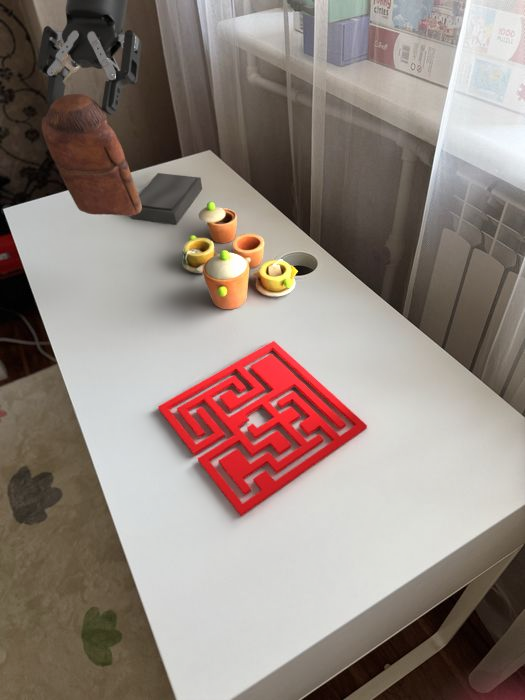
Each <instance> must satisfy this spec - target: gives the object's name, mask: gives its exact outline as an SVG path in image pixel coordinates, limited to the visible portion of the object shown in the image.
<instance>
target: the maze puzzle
mask: <svg viewBox="0 0 525 700" xmlns="http://www.w3.org/2000/svg"><path fill="white" fill-rule="evenodd" d="M271 352H274V353H275V354H276V355H277V356H278V357H280V358H281V359H282V360H283V361H284V362H285V363H286V364H287V365H288V366H289V367H290V368H291V369H292V370H293V371H294V372H296V373H297V374H298V375H299V376H300V377H301V378H302V379H303V380H304V381H305V382H306V383H308V384H309V386H311V387H312V388H313V389H314V390H315V391H316V392H317V393H318V394H319V395H320V396H321V397H323V398H324V399H325V400H326V401H327V402H328V403H329V404H330V405H331V406H332V407H333V408H335V410H337V411H338V413H340V414H341V415H342V416H343V417H344V418H345V419H346V420H347V421H349V423H351V424H352V425H353V426H352V427H350V428H349V429H348V430H346V431H345V432H343V433H342V434H341V435H340V434H339V433H338V432H337V431H335V429H334V428H333V427H331V425H330V424H329V423H327V421H325V420H324V419H323V418H322V417H321V416H320V415H319V414H318V412H316V411H315V410H314V409H313V408H312V407H311V406H310V405H309V404H308V403H307V402H305V400H303V399H302V398H301V397H300V395H298V393H297V392H295V390H293V391H291V392H290V393H287V392H288V391H290V390H291V389H293V388H296V390H298V391H299V393H300V394H302V395H303V396H304V397H305V398H306V400H307V401H309V402H310V403H311V404H312V405H313V406H314V407H315V408H316V409H317V410H318V411H319V412H320V413H322V414H323V415H324V416H325V417H326V418H327V419H328V420H329V421H330V422H331V423H332V424H333V425H334V426H335V427H336V428H337V429H338V430H339V431H342V430H344V428H346V426H347V423H346V422H345V421H344V420H343V419H342V418H341V417H340V416H339V415H338V414H337V413H335V411H334V410H333V409H332V408H330V407H329V406H328V405H327V404H326V402H324V401H322V399H321V398H320V397H318V396H317V394H315V392H313V391H312V390H311V389H310V388H309V387H308V386H307V385H306V384H305V383H304V382H303V381H302V380H300V378H298V377H297V376H296V375H295V374H294V372H292V371H291V370H290V369H289V368H288V367H286V366H285V364H283V363H282V362H281V361H280V360H279V359H278V358H277V357H276V356H275V355H274V354H272V353H271ZM269 353H270V354H269ZM267 354H268V355H267ZM265 355H266V356H265ZM263 356H265V357H263ZM261 357H263V358H261ZM260 358H261V359H260ZM255 361H256V362H255ZM253 362H254V363H253ZM248 365H250V370H251V371H252V372H253V373H255V375H256V376H258V378H259V379H260V380H261V381H262V382H263V383H264V384H265V385H266V386H267V387H268V388H269V389H270V390H271V391H269V392H268V393H266V394H264V395H262V394H263V393H265V392H266V388H265V387H264V386H263V385H262V384H261V383H260V382H259V381H258V380H257V379H256V378H255V377H254V376H253V374H251V373H250V372H249V371H248V370H247V369H246V368H245V367H246V366H248ZM235 372H236V373H237V374H238V375H239V376H240V377H241V378H243V380H244V381H245V382H246V383H247V384H248V385H249V386H250V387H251V390H249V391H247V388H246V385H244V384H243V383H242V381H241V380H240V379H239V378H238V377H237V376H236V375H234V373H235ZM232 374H233V375H232ZM231 375H232V376H231ZM229 376H230V377H229ZM227 377H228V378H227ZM225 378H227V379H225ZM224 379H225V380H224ZM222 380H223V381H222ZM220 381H222V382H220ZM218 382H220V383H218ZM216 383H218V384H216ZM215 384H216V385H215ZM214 385H215V386H214ZM211 386H212V387H211ZM232 386H233V387H234V388H235V390H237V391H238V393H240V394H242V393H243V392H245V391H247V392H246V393H244V394H242V395H241V396H239V397H238V395H237V394H236V393H235V392H234V391H233V390H232V389H229V388H231V387H232ZM209 387H211V388H209ZM207 388H209V389H207ZM206 389H207V390H206ZM227 389H229V390H227ZM205 390H206V391H205ZM226 390H227V391H226ZM202 391H204V392H202ZM224 391H225V392H224ZM201 392H202V393H201ZM222 392H224V393H222ZM199 393H201V394H199ZM220 393H222V394H221V395H219V400H220V402H222V404H223V405H224V406H225V407H226V408H227V409H228V410H229V411H230V412H231V413H232V412H234V411H236V410H237V409H239V408H240V407H242V406H244V405H246V404H247V403H249V402H250V401H252V400H253V399H255V398H257V397H259V398H258V399H256V400H254V401H253V402H251V403H249V404H248V405H246V406H244V407H243V408H242V409H240V410H238V411H237V412H235V413H233V414H231V415H230V416H229V415H228V414H227V413H226V412H225V410H223V408H222V407H221V406H220V405H219V404H218V403H217V402H216V400H215V399H213V398H214V397H215V396H217V395H218V394H220ZM285 393H287V394H286V395H285V396H283V397H281V396H282V395H284V394H285ZM196 395H197V396H196ZM261 395H262V396H261ZM194 396H195V397H194ZM260 396H261V397H260ZM279 397H281V398H279ZM191 398H192V399H191ZM277 398H279V399H278V400H277V401H276V404H277V406H278V407H279V408H280V409H283V408H285V407H286V406H288V405H290V404H292V403H293V404H294V405H295V406H296V407H297V408H298V409H299V410H300V411H301V412H302V413H303V414H304V415H305V416H306V417H307V418H305V419H304V420H302V421H300V422H299V423H298V427H299V428H300V429H301V430H302V431H303V432H304V433H305V434H306V435H307V436H311V435H313V433H315V432H317V431H318V430H319V429H320V430H321V431H322V433H324V434H325V436H326V437H328V438H329V440H331V441H330V442H329V443H328V444H326V445H325V446H323V447H322V448H321V449H319V450H317V451H316V452H315V453H313V454H312V455H310V456H309V457H307V458H306V459H305V460H303V461H302V462H300V463H299V464H297V465H296V466H294V467H293V468H292V469H290V470H288V471H287V472H286V473H285V474H283V475H281V476H279V478H277V479H276V480H275V479H274V478H273V477H272V476H271V474H270V473H269V472H268V471H267V470H264V471H262V472H260V473H259V474H258V475H256V476H255V477H253V478H252V481H253V483H254V484H255V486H256V487H257V488H258V489H259V491H258V492H256V493H255V494H254V495H253V496H251V497H250V498H248V499H247V500H245V501H244V502H242V500H240V498H239V497H238V496H237V494H236V493H235V492H234V490H233V489H232V488H231V487H230V485H229V484H228V483H227V481H226V480H225V479H224V477H223V476H222V475H221V474H220V472H219V471H218V470H217V469H216V467H215V466H214V465H213V464H212V462H211V461H213V460H215V459H217V458H218V457H219V456H221V455H222V454H223V453H225V452H227V451H229V450H230V449H232V448H234V447H235V446H236V445H239V444H240V445H241V446H242V447H243V449H244V450H245V451H246V452H247V453H248V454H249V455H250V457H252V458H254V457H255V456H257V455H258V454H260V453H261V452H264V450H266V449H267V448H269V447H271V448H272V449H273V450H274V451H275V452H276V454H278V456H281V455H282V454H284V453H286V452H287V451H289V450H290V449H291V448H292V444H291V442H289V441H288V440H287V438H286V437H285V436H284V435H283V434H282V433H281V432H280V431H279V430H275V431H274V432H272V433H271V434H269V435H268V436H266V437H264V438H263V439H262V440H260V441H258V442H257V443H255V444H254V443H252V442H251V440H250V439H249V438H248V437H247V436H246V435H245V434H244V432H243V431H242V430H241V429H240V428H241V427H243V426H244V424H245V423H247V422H250V419H249V417H248V416H250V415H252V414H253V413H254V412H256V411H258V410H259V409H261V408H262V409H263V410H264V411H265V412H266V413H267V414H268V415H269V416H270V417H271V418H270V419H269V420H267V421H266V422H264V423H263V424H261V425H260V426H258V427H257V426H256V425H255V424H254V423H251V424H249V425H248V426H247V427H246V430H247V432H248V433H249V434H250V435H251V436H252V437H253V438H254V440H257V439H259V438H260V437H262V436H264V435H265V434H267V433H269V432H270V431H271V430H273V429H275V428H277V427H278V426H280V427H281V429H282V430H283V431H284V432H285V433H286V434H287V435H288V436H289V437H290V438H291V439H292V440H293V441H294V442H295V443H296V444H297V446H298V447H297V448H296V449H294V450H293V451H292V452H290V453H289V454H287V455H286V456H284V457H283V458H281V459H280V460H277V459H276V458H275V457H274V456H273V454H272V453H271V452H270V451H267V452H265V453H264V454H263V455H261V456H259V457H258V458H256V459H255V460H254V461H252V462H251V463H250V462H249V460H248V459H247V458H246V457H245V456H244V454H243V453H242V452H241V450H239V448H235V449H234V450H232V451H231V452H230V453H228V454H226V455H224V456H223V457H222V458H220V459H218V464H219V465H220V466H221V467H222V469H223V470H224V471H225V473H226V474H227V475H228V477H230V479H231V481H232V482H233V483H234V484H235V485H236V487H237V488H238V489H239V490H240V491H241V493H242V494H243V495H244V496H247V495H249V494H251V492H252V487H250V485H249V484H248V483H247V482H246V481H245V479H247V478H249V477H250V476H252V475H253V474H254V473H256V472H257V471H259V470H260V469H262V468H263V467H264V466H266V465H268V466H269V467H270V469H272V470H273V472H274V473H275V474H276V475H277V474H279V473H281V472H282V471H283V470H285V469H286V468H288V467H290V466H291V465H292V464H294V463H295V462H297V461H298V460H299V459H301V458H302V457H304V456H305V455H307V454H308V453H309V452H311V451H312V450H314V449H315V448H317V447H318V446H320V445H321V444H322V443H324V442H325V438H324V437H323V436H322V435H321V434H320V433H318V434H316V435H315V436H313V437H312V438H311V439H309V440H307V439H306V438H305V437H304V436H303V435H302V434H301V433H300V432H299V431H298V430H297V429H296V428H295V427H294V426H293V424H294V423H295V422H297V421H299V420H300V419H301V414H300V413H299V412H298V411H296V409H294V407H293V406H289V407H288V408H286V409H285V410H283V411H282V412H280V411H279V410H278V409H277V408H276V407H275V406H274V405H273V404H272V403H271V402H272V401H274V400H276V399H277ZM189 399H190V400H189ZM187 400H188V401H187ZM186 401H187V402H186ZM184 402H185V403H184ZM182 403H183V404H182ZM203 403H205V404H206V405H207V406H208V408H209V409H210V410H211V412H212V413H214V415H215V416H216V417H217V418H218V419H219V421H221V423H222V424H223V425H224V426H225V428H227V430H228V431H229V432H230V433H231V434H232V436H231V437H229V438H228V439H226V440H224V441H223V442H221V443H219V444H218V445H217V446H214V447H213V448H211V449H210V450H208V451H207V452H205V453H203V454H202V455H200V456H198V457H197V461H198V463H199V464H200V466H201V467H202V468H203V469H204V471H205V472H206V473H207V474H208V476H209V477H210V478H211V480H212V481H213V482H214V484H215V485H216V486H217V487H218V488H219V490H220V492H221V493H222V494H223V495H224V496H225V498H226V499H227V501H228V502H229V503H230V504H231V506H232V507H233V508H234V509H235V511H236V512H237V513H238V515H239V516H240V517H243V516H244V515H246V514H248V513H249V512H250V511H252V510H253V509H254V508H256V507H257V506H259V505H260V504H261V503H263V502H264V501H265V500H267V499H268V498H270V497H271V496H273V495H274V494H276V493H277V492H279V491H280V490H282V489H283V488H284V487H285V486H287V485H288V484H290V483H292V482H293V481H294V480H295V479H297V478H298V477H300V476H301V475H303V474H304V473H305V472H307V471H309V470H311V468H313V467H314V466H316V465H317V464H318V463H319V462H322V461H323V460H324V459H325V458H327V457H328V456H330V455H331V454H333V453H334V452H336V451H337V450H338V449H340V448H341V447H343V446H344V445H346V444H347V443H348V442H350V441H351V440H352V439H354V438H355V437H357V436H358V435H359V434H361V433H363V432H364V431H365V430H366V429H368V424H367V423H365V422H364V421H363V420H362V419H360V417H359V416H358V415H356V414H355V413H354V412H353V411H352V410H351V409H350V408H348V407H347V406H346V405H345V404H344V403H343V402H342V401H341V400H340V399H338V397H337V396H336V395H334V394H333V393H332V392H331V391H330V390H329V389H328V388H327V387H326V386H324V385H323V384H322V383H321V382H320V381H319V380H318V379H316V377H314V376H313V374H311V373H310V372H309V371H308V370H307V369H306V368H305V367H304V366H303V365H301V364H300V363H299V362H298V361H297V360H296V359H295V358H294V357H293V356H291V355H290V354H289V353H288V352H287V351H286V350H285V349H283V348H282V347H281V345H279V344H278V343H277V342H276V341H275V340H272V341H271V342H269V343H267V344H266V345H264V346H262V347H260V348H258V349H257V350H254V351H253V352H251V353H250V354H248V355H246V356H243V358H241V359H238V360H237V361H235V362H233V363H232V364H230V365H228V366H226V367H225V368H223V369H221V370H220V371H217V372H216V373H214V374H212V375H210V376H209V377H207V378H205V379H204V380H202V381H200V382H198V383H196V384H195V385H193V386H191V387H190V388H187V389H186V390H184V391H183V392H181V393H179V394H177V395H176V396H173V397H172V398H170V399H168V400H167V401H165V402H163V403H161V404H160V405H158V406H157V409H158V411H159V412H160V414H162V416H163V417H164V418H165V420H166V421H167V422H168V424H169V425H170V426H171V428H172V429H173V430H174V431H175V433H176V434H177V435H178V437H179V438H180V439H181V441H182V442H183V444H185V446H186V447H187V448H188V450H189V451H190V452H191V454H192V455H193V456H194V457H195V456H197V455H199V454H200V453H202V452H204V451H205V450H206V449H208V448H210V447H211V446H213V445H215V444H216V443H218V442H219V441H221V440H223V439H225V437H226V433H225V432H224V431H223V429H222V428H221V427H220V425H218V424H217V423H216V421H215V420H214V418H212V416H211V415H210V414H209V413H208V412H207V411H206V410H205V408H204V407H203V406H200V405H202V404H203ZM180 404H181V405H180ZM178 405H179V406H178ZM176 406H178V407H176ZM198 406H200V407H198ZM175 407H176V410H177V411H176V412H177V413H178V414H179V415H180V416H181V418H182V419H183V420H184V421H185V423H186V424H187V425H188V427H190V429H191V430H192V432H193V433H194V434H195V435H196V436H197V438H198V439H202V438H203V437H204V436H206V432H205V430H204V429H203V428H202V426H201V425H200V424H199V423H198V422H197V420H196V418H194V417H193V416H192V414H191V413H190V411H192V410H193V409H195V408H196V409H195V412H196V415H198V417H199V418H200V419H201V420H202V421H203V423H204V424H205V425H206V426H207V428H208V429H209V430H210V431H211V432H212V434H209V436H207V437H205V438H204V439H202V440H201V441H199V442H198V443H196V442H195V441H194V440H193V438H192V437H191V435H190V434H189V432H187V430H186V429H185V428H184V427H183V426H182V424H181V423H180V422H179V420H178V419H177V417H176V416H175V415H174V414H173V412H172V411H171V409H174V408H175ZM197 407H198V408H197Z"/></svg>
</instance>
